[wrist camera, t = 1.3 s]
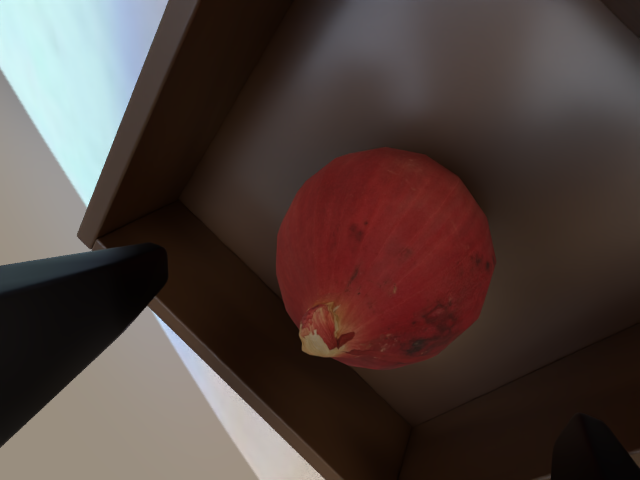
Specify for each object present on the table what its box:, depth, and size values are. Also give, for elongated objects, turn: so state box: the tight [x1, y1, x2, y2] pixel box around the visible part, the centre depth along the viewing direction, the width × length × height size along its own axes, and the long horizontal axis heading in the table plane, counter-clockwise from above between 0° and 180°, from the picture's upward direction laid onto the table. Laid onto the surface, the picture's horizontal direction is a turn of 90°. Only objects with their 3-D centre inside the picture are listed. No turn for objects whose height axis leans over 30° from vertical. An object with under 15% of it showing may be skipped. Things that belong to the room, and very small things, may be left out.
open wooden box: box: [77, 0, 640, 480], centre depth 13 cm, size 17×17×5 cm
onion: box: [276, 147, 497, 370], centre depth 11 cm, size 6×6×8 cm
